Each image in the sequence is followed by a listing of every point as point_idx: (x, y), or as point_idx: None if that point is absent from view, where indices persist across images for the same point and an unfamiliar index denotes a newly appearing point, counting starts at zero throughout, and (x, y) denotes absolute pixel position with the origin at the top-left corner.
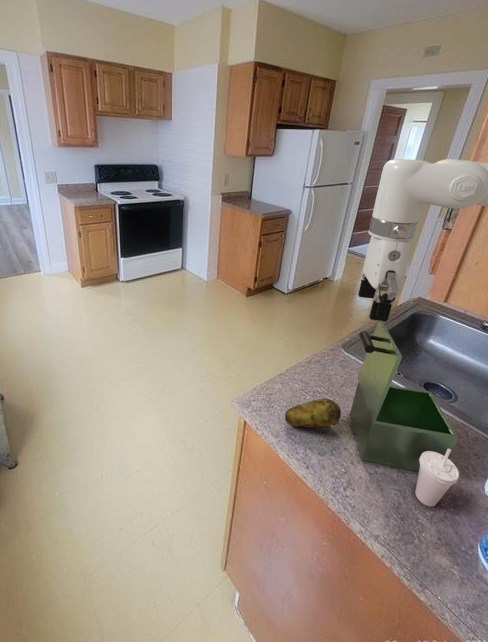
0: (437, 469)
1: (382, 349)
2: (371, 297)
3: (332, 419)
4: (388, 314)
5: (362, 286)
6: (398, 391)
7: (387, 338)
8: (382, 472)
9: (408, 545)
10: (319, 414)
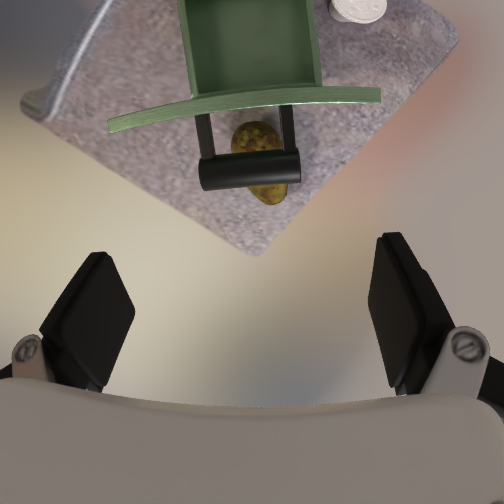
0: (369, 4)
1: (289, 122)
2: (112, 266)
3: (279, 138)
4: (414, 260)
5: (112, 360)
6: (189, 22)
7: (244, 107)
8: (320, 56)
9: (411, 58)
10: None
